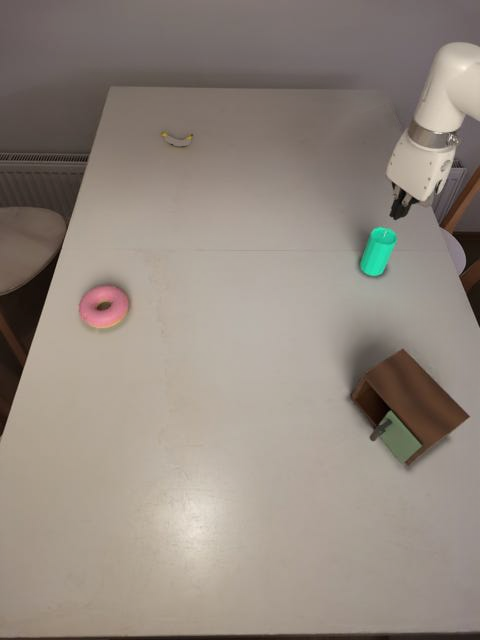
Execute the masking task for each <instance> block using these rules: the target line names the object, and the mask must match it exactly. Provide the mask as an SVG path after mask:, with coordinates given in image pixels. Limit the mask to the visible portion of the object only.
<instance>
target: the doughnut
mask: <svg viewBox="0 0 480 640" xmlns="http://www.w3.org/2000/svg"><path fill="white" fill-rule="evenodd" d="M103 303H110V306H109V307H107V309H105V308H104V309H103V310H99V309H98V306H100V305H102V304H103ZM77 305H78V313H79V316H80V318H81V320H82V321H83V322H84V323H85V324H87V325H88V326H90V327H93V328H97V329H107V328H110V327H114V326H115V325H117V324H119V323H120V322H121V321H122V320H123V319H125V317H126V316H127V314H128V312H129V305H130V301H129V297H128V296H127V294H126V292H124V291H123V289H121V288H119V286H115V285H109V284H108V285H104V284H102V285H99V286H95V287H93V288H91V289H89V290H88V291H86V293H84V294H83V296H81V299H80V301H79V304H77Z"/></svg>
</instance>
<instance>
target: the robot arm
mask: <svg viewBox="0 0 480 640" xmlns="http://www.w3.org/2000/svg"><path fill="white" fill-rule="evenodd" d="M429 68H430V69H429V72H428V74H427V76H426V80H425V82H424V84H423V88H422V90H421V93H420V97H419V99H418V102H417V105H416V107H415V109H414V112H413V116H412V118H411V120H410V124H409V126H407V127H406V128H405V130H403V132H402V134H401V136H400V137H399V139H398V140H397V142H396V145H394V148H393V151H392V152H391V155H390V158H389V160H388V163H387V166H386V169H385V178H386V180H387V181H388V182H389V183H390V184H391V186H392V190H393V194H392V198H393V202H392V204H391V207H390V209H391V210H390V212H389V217H390V218H392V219H393V220H394V221H398V220H399V219H401V218H402V219H403V218H405V217H407V216H408V215H409V212H410V209H411V207H412V205H417V204H418V205H419V206H421V207H424V208H429V207H430V206H432V205H433V202H434V198H435V195H436V196H437V195H439V194H440V193H441V192H442V190H443V188H444V186H445V184H446V182H447V179H448V177H449V174H450V171H451V168H452V166H453V164H454V159H455V155H456V150H457V148H458V147H459V146H460V145H461V144H462V142H463V139H462V138H461V137H460V136H459V133H460V131H461V126H462V124H463V122H464V120H465V118H466V116H469V117H471V118H473V119H475V120H476V121H478V122H480V46H479V45H476V44H474V43H471V42H464V41H454V42H449V43H446V44H444V45H443V46H441V47H440V48H439V49H438V51H437V52H436V53H435V56H434V58H433V61H432V63H431V66H430V67H429Z"/></svg>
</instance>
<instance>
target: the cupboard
mask: <svg viewBox="0 0 480 640" xmlns="http://www.w3.org/2000/svg"><path fill="white" fill-rule="evenodd" d="M350 399H351V401H352V402H353V403H354V404H355V405H356V406H357V408H358V409H359V410H360V411H361V413H362V414H363V415H364V416H365V417H366V418H367V420H368V421H369V422H370V423H371V424H372V425H373V427H374V429H376V427H377V426H378V425H379V424H380V422H381V421H382V420H383V418H384V417H385V416H386V414H387V413H388V412H389V411H390V410H391V411H392V412H393V413H394V414H395V416H396V417H397V418H398V419H399V420H400V421H401V422H402V423H403V425H404V426H405V427H406V428H407V429H408V430H409V431H410V432H411V434H412V435H413V436H414V437H415V438H416V439H417V440H418V442H419V443H420V444H421V445H422V446H421V447H420V448H419V449H418V450H417V451H416V452H415V453H414V454H413V455H411V456H410V457H409V458H408V459H407V460H406V461H405V462H404V463H405V464H406V465H407V467H409V466H411V465H412V464H413V463H414V462H415V461H417V460H418V459H419V458H421V457H422V456H424V455H425V454H426V453H427V452H429V451H430V450H431V449H433V448H434V447H435V446H437V445H438V444H439V443H440V442H442V441H443V440H445V439H446V438H447V437H448V436H450V434H452V433H453V432H454V431H455V430H457V428H459V427H460V426H461V425H462V424H464V423H465V422H466V421H467V420H468V419H469V418H471V416H470V414H469V413H468V412H467V411H466V410H465V409H464V408H462V406H461V405H459V403H458V402H457V401H456V400H455V399H454V398H453V397H452V396H451V395H450V394H449V393H448V392H447V391H446V390H445V389H444V388H443V387H442V386H441V385H440V384H439V383H438V382H437V381H436V380H435V379H434V378H433V377H432V376H431V375H430V374H429V373H428V372H427V371H426V370H425V369H424V368H423V367H422V366H421V365H420V364H419V363H418V362H417V360H416V359H414V358H413V357H412V356H411V355H410V354H409V353H408V352H407V351H406V350H405V349H404V348H401V349H400V350H398V351H396V352H395V353H393V354H392V355H391V356H389V357H387V358H386V359H384V360H383V361H381V362H379V363H377V364H376V365H375V366H373V367H371V368H370V369H368V370H367V371H365V372H363V373H362V375H361V377H360V379H359V381H358V383H357V384H356V386H355V388H354V390H353V391H352V394H351V396H350Z"/></svg>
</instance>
